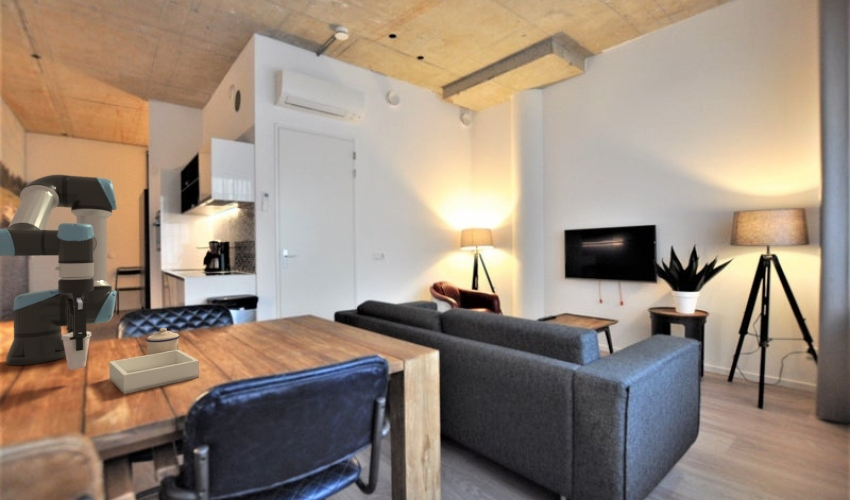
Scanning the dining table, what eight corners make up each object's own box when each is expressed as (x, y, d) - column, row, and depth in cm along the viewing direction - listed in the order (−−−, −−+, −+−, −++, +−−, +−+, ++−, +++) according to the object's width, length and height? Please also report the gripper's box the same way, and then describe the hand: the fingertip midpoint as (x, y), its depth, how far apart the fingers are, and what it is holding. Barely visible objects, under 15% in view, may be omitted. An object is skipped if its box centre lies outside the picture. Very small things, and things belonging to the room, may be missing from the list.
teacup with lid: (183, 363, 131) (183, 328, 131) (151, 369, 124) (151, 332, 124) (170, 356, 139) (170, 323, 138) (139, 362, 132) (139, 327, 131)
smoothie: (73, 372, 108) (73, 321, 108) (55, 370, 109) (54, 320, 109) (97, 364, 114) (97, 317, 114) (79, 363, 116) (79, 315, 115)
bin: (109, 378, 115) (109, 361, 115) (178, 364, 129) (178, 349, 129) (124, 394, 103) (124, 375, 103) (198, 377, 117) (198, 360, 117)
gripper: (53, 276, 115) (54, 354, 115) (63, 281, 102) (63, 370, 103) (87, 274, 120) (87, 349, 121) (100, 279, 108) (100, 363, 108)
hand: (76, 358), depth 112 cm, fingers closed on smoothie, 6 cm apart
